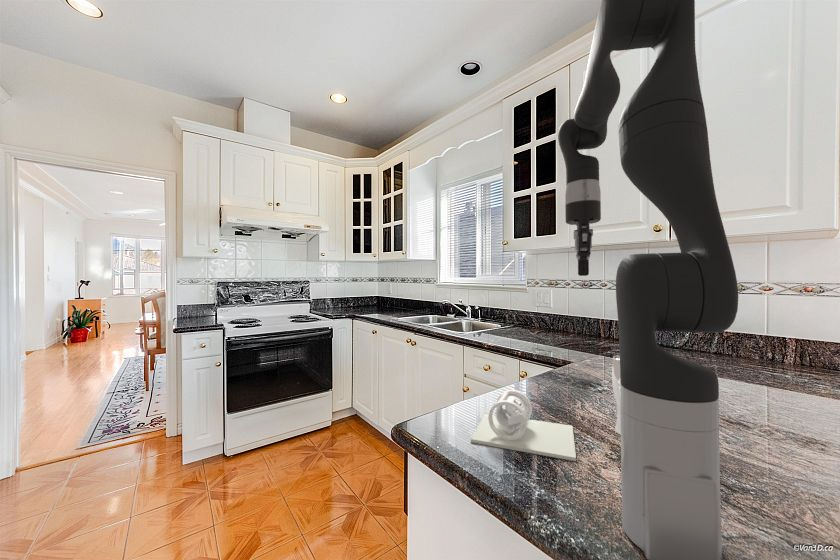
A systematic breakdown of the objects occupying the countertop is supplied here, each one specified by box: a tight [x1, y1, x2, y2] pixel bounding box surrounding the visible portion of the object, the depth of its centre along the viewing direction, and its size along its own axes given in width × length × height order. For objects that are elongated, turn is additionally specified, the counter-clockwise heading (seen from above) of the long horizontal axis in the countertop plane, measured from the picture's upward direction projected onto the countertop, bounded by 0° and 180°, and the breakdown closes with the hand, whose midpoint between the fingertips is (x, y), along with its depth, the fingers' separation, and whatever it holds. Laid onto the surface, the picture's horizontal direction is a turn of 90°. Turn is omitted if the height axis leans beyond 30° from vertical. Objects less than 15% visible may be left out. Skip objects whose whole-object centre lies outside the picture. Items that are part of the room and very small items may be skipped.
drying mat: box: [470, 412, 577, 462], centre depth 66 cm, size 14×18×1 cm
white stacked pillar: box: [488, 389, 533, 440], centre depth 68 cm, size 7×7×15 cm
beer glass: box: [611, 354, 621, 436], centre depth 67 cm, size 7×7×15 cm
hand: (583, 275), depth 79 cm, fingers closed
